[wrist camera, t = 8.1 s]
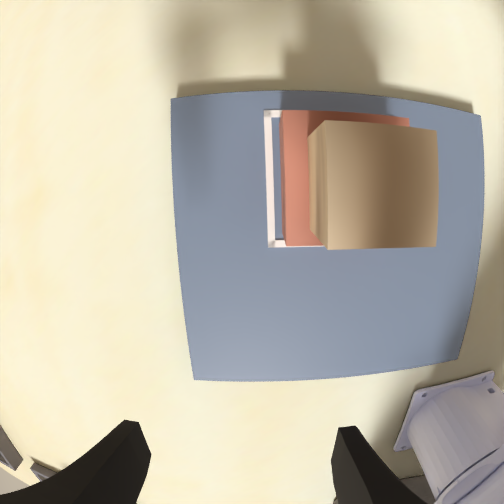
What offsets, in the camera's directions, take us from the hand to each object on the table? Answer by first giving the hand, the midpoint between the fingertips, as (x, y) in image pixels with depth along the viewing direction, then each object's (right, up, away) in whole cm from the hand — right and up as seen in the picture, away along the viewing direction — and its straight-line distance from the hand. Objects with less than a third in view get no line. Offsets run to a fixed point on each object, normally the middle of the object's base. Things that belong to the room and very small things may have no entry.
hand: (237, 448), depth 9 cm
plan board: (+6, +7, +9) cm, 13 cm away
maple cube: (+5, +10, +3) cm, 12 cm away
